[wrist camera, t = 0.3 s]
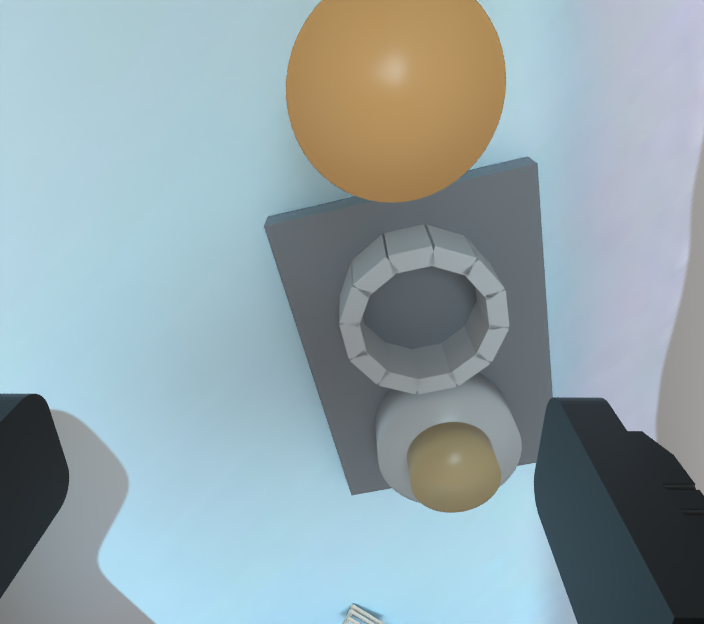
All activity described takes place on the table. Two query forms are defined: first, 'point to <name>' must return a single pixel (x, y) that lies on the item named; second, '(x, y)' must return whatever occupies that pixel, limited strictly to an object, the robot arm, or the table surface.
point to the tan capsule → (395, 93)
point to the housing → (426, 332)
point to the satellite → (360, 616)
